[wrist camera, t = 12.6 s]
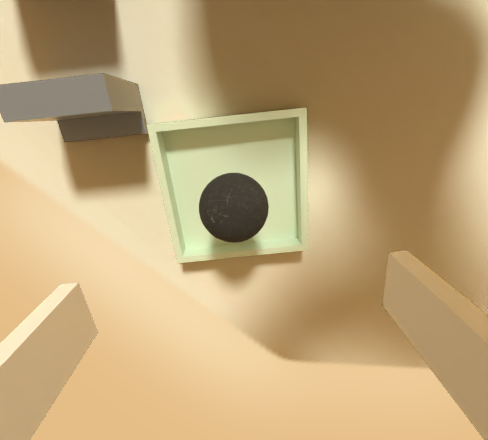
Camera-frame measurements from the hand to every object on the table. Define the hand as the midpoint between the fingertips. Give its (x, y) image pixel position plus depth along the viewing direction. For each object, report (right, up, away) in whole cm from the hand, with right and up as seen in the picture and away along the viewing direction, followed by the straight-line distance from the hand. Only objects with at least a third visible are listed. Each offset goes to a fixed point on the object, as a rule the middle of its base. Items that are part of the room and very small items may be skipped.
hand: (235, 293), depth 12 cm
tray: (-1, +7, +17) cm, 19 cm away
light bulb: (-1, +7, +17) cm, 18 cm away
